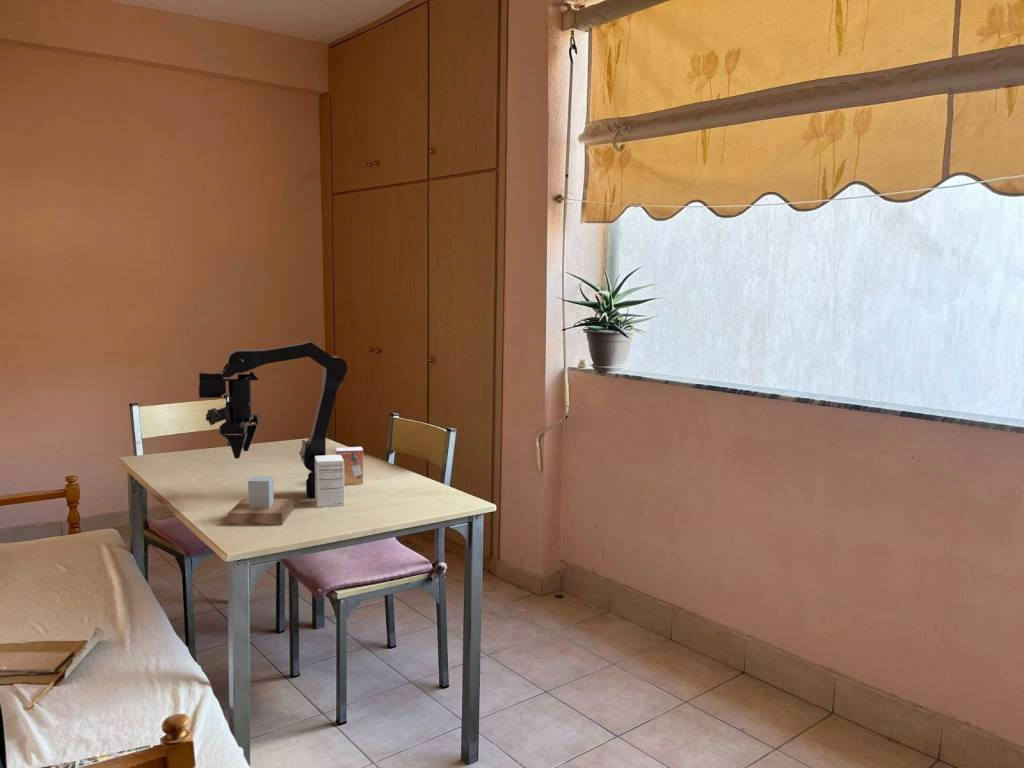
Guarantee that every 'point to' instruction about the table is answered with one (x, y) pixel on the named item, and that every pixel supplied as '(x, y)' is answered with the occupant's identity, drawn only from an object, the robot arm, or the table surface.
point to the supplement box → (329, 481)
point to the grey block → (260, 492)
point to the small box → (352, 464)
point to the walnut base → (260, 513)
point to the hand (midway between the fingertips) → (241, 454)
